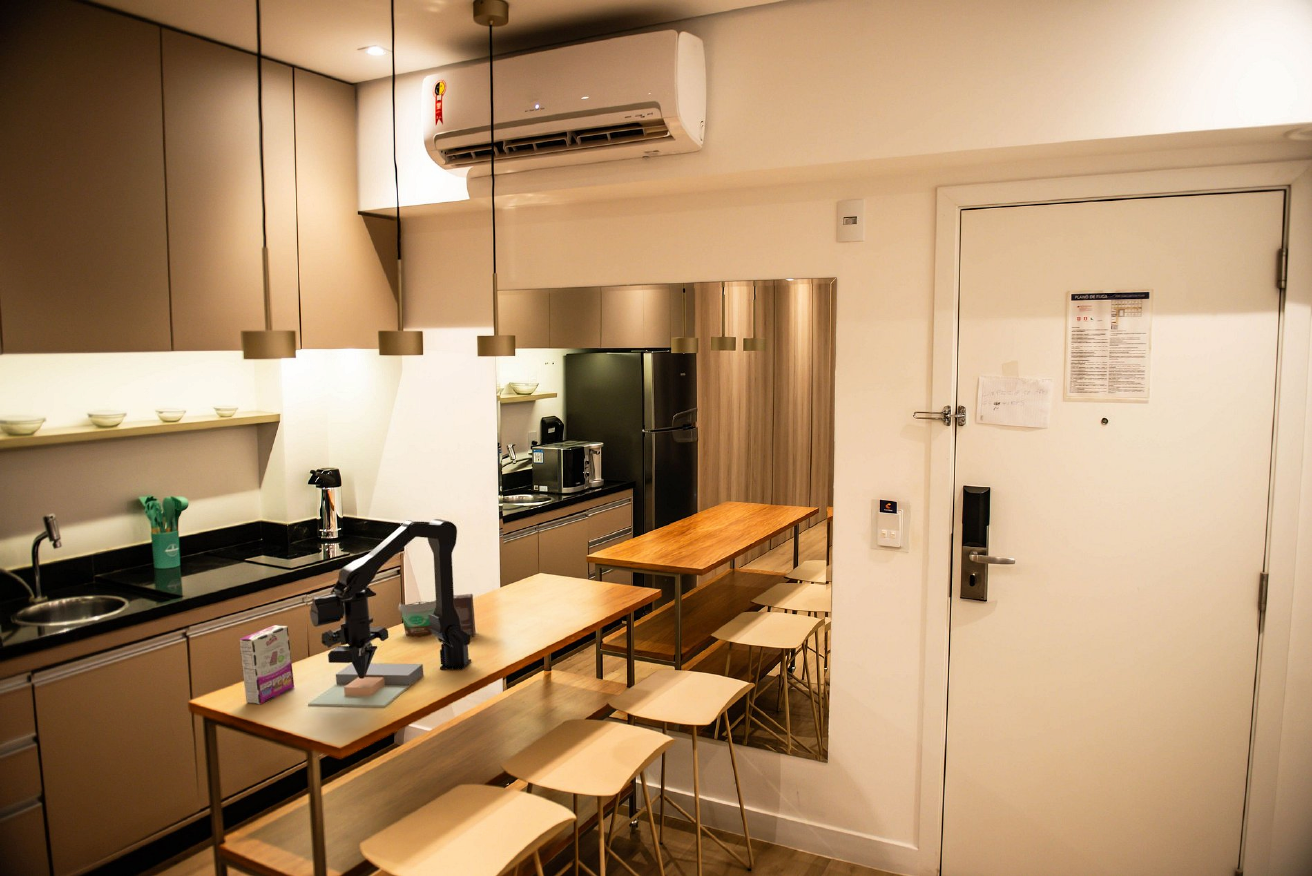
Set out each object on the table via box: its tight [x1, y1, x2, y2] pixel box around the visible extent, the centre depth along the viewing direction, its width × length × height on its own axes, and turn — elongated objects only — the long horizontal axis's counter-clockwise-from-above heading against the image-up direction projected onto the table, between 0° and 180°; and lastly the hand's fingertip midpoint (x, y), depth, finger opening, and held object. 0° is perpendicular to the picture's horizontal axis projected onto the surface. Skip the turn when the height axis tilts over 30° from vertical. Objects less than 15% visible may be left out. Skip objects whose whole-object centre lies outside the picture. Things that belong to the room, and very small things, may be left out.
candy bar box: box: [238, 624, 295, 705], centre depth 208 cm, size 11×5×16 cm, turn 158°
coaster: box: [344, 677, 385, 696], centre depth 207 cm, size 7×7×2 cm
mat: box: [307, 683, 409, 708], centre depth 205 cm, size 20×12×1 cm, turn 80°
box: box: [454, 593, 476, 637], centre depth 248 cm, size 6×4×12 cm
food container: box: [397, 599, 436, 638], centre depth 251 cm, size 12×6×10 cm, turn 105°
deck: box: [335, 662, 424, 688], centre depth 215 cm, size 20×8×3 cm, turn 80°
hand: (362, 678), depth 206 cm, fingers closed
